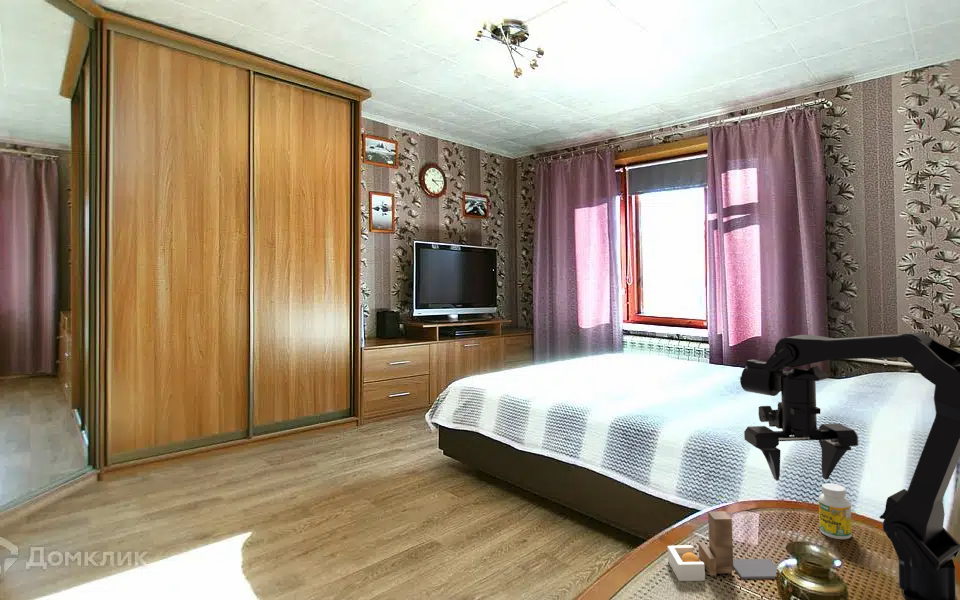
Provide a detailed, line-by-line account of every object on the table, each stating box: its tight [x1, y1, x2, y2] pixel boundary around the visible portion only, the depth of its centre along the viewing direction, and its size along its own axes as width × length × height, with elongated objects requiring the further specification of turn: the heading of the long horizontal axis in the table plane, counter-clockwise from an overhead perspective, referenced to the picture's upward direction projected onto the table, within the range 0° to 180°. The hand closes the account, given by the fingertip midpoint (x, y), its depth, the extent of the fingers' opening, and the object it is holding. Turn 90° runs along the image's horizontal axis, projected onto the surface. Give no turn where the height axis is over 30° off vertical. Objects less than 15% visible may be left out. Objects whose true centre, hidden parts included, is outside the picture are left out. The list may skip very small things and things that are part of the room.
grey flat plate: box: [733, 558, 778, 580], centre depth 93 cm, size 8×6×1 cm
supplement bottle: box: [818, 482, 853, 540], centre depth 104 cm, size 5×5×10 cm
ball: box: [681, 552, 701, 562], centre depth 94 cm, size 3×3×3 cm
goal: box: [667, 544, 706, 582], centre depth 94 cm, size 4×6×3 cm
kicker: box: [698, 510, 735, 576], centre depth 93 cm, size 4×6×10 cm
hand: (800, 479), depth 100 cm, fingers open, 9 cm apart
